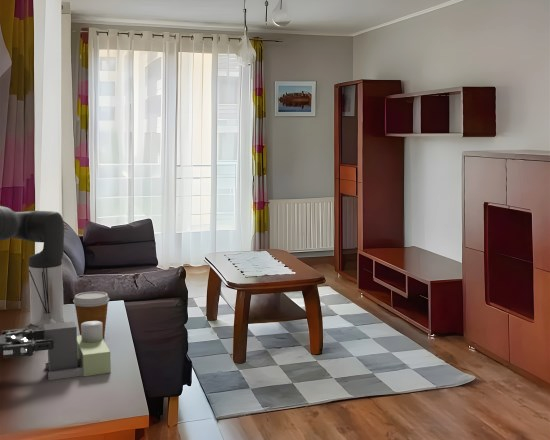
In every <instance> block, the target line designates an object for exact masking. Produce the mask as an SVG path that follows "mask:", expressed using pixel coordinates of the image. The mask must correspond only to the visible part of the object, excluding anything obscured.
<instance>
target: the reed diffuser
mask: <svg viewBox="0 0 550 440" xmlns="http://www.w3.org/2000/svg"><path fill="white" fill-rule="evenodd" d="M29 272H30V270H29V269H28V273H29ZM43 273H44V268H43V272H42V279H43ZM30 275H31V277H32V274H31V272H30ZM46 279H47V289H46V281H45V273H44V279H43V289H44V298H45V289H46V297H47V305H48V312H47V307H46V298H45V306H44V304H43V301H42V299H41V297H40V294H39V292H38V289H37V287H36V284H35V282H34V279H33V277H32V280H33V282H34V285H35V287H36V290H37V292H38V294H39V297H40V299H41V302H42V304H43V307H44V309H45V308H46V309H45V312H44V319H43V320H42V321H41V322H40V323H39V325H38V326H37V328H38V329H37V330H44V329H43V324H53V323H56V322H55V321H54V320H52V319H51V312H49V301H48V278H47V266H46ZM44 281H45V288H44Z"/></svg>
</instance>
